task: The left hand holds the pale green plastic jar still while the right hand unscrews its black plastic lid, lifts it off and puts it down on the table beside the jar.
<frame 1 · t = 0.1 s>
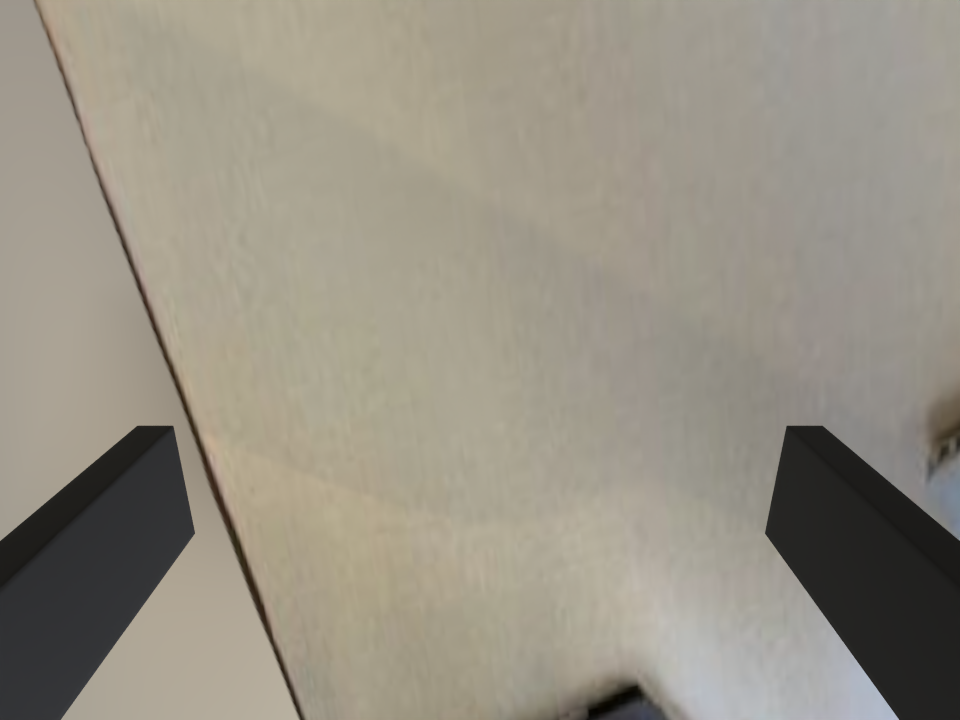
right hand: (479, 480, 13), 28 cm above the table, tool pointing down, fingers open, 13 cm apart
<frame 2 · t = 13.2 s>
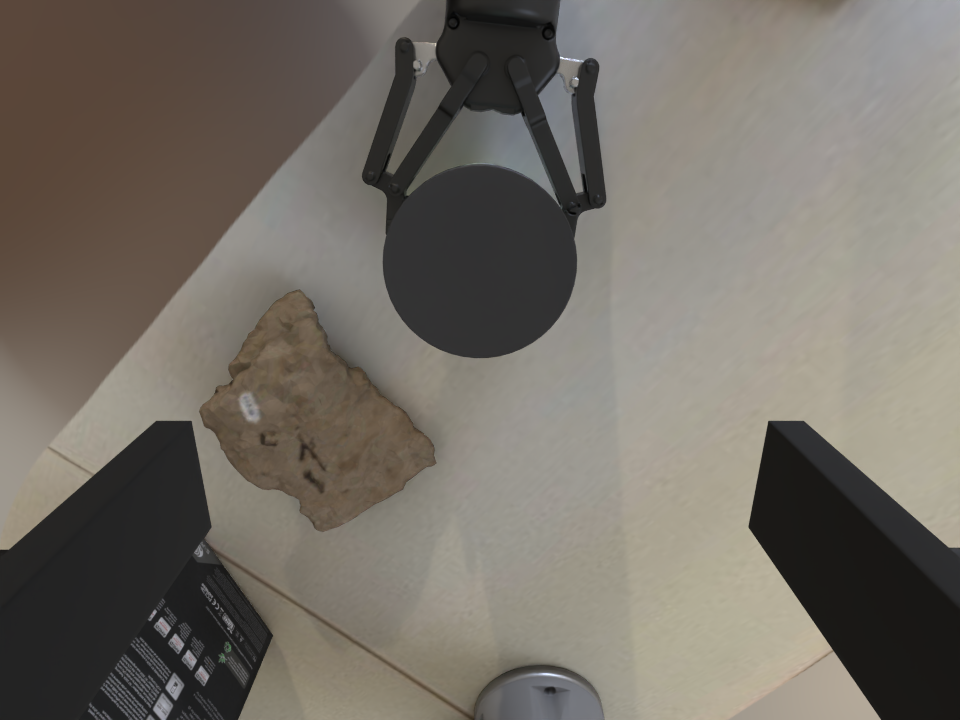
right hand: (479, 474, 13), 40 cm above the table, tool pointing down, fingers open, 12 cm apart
left hand: (474, 290, 46), fingers closed on jar, 10 cm apart
graphics card box: (213, 584, 65), on the table
stone: (326, 409, 57), on the table
lid: (479, 266, 35), point 17 cm above the table, screwed on, not yet turned
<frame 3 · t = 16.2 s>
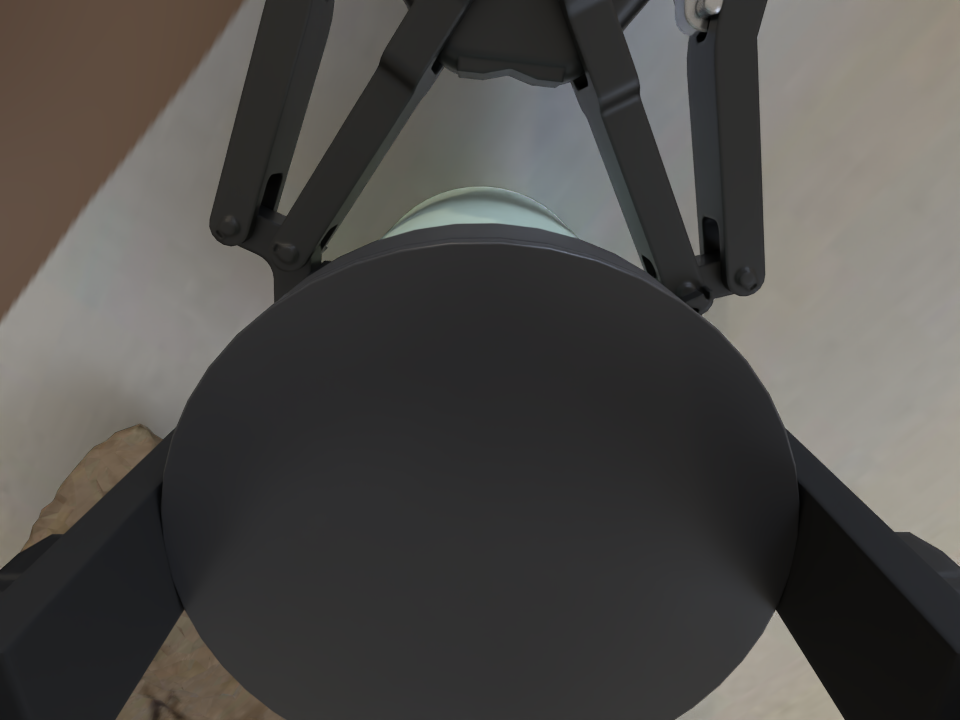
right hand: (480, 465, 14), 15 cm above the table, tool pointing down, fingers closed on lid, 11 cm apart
stone: (216, 603, 33), on the table
lid: (480, 545, 11), point 17 cm above the table, screwed on, not yet turned, touching right hand
jar: (480, 301, 27), on the table, touching left hand
when the right hand's fingers open (0 cm above the table, at t = 25.3 s): lid drops 1 cm, point 2 cm above the table.
when the left hand's fingers open (7 cm above the table, at t = 26.3 s): jar stays where it is, on the table.
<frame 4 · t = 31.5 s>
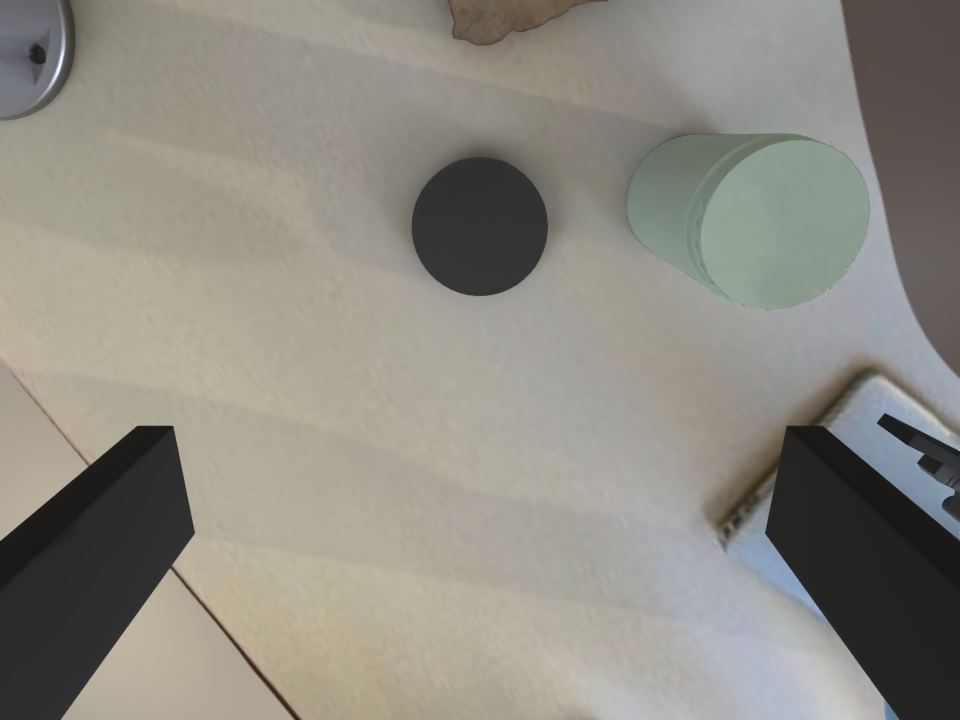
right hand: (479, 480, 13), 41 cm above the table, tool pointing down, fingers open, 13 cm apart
lid: (479, 229, 49), point 2 cm above the table, off its thread
jar: (686, 199, 50), on the table
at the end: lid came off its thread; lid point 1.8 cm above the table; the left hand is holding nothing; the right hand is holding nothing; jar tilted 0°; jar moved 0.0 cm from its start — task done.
